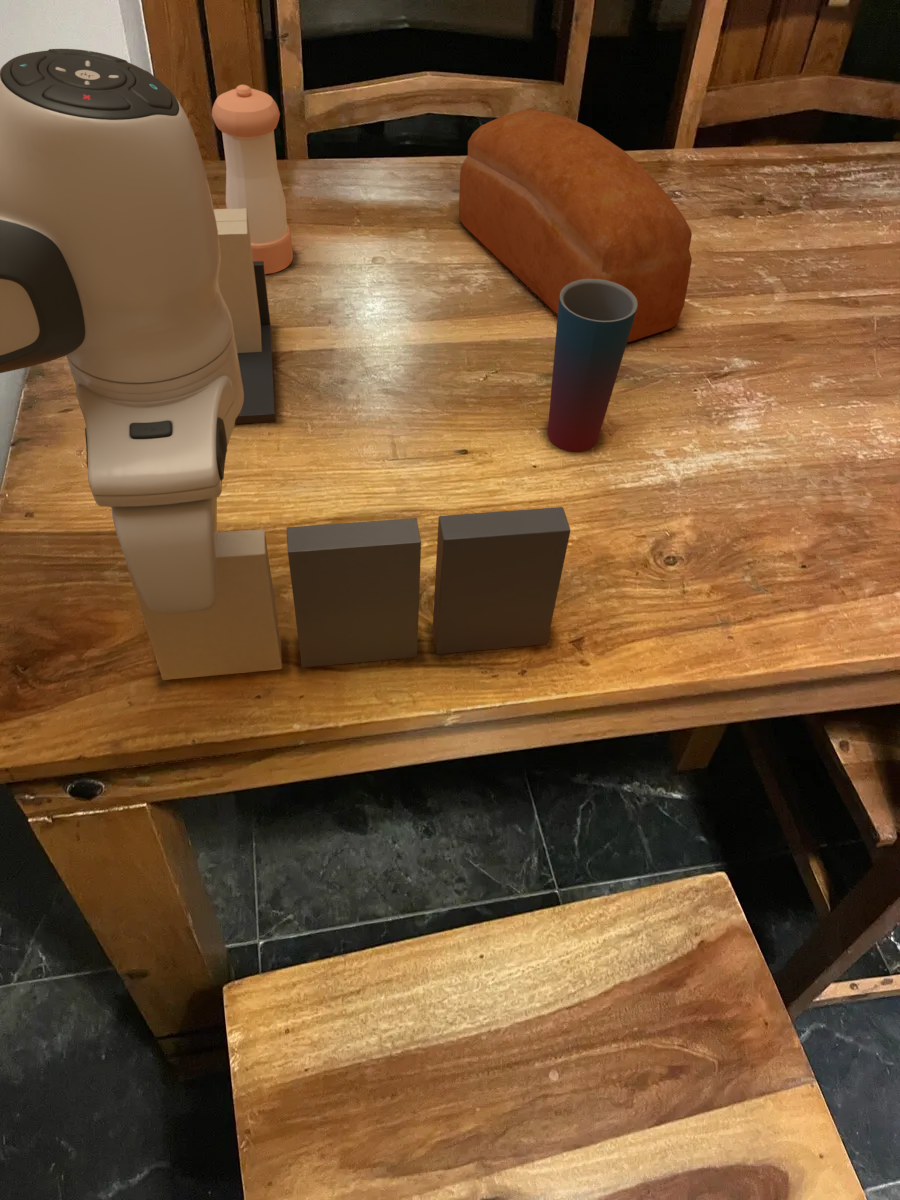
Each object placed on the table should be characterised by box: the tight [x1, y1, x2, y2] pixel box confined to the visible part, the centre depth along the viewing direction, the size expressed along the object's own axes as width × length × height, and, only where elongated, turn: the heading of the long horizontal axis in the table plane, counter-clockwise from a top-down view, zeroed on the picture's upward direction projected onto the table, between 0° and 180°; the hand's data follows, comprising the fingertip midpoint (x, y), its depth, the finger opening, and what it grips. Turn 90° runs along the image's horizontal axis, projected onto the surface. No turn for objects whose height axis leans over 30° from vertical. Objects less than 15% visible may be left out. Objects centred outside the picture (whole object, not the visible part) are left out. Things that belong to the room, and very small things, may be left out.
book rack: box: [214, 208, 277, 425], centre depth 90 cm, size 11×16×14 cm
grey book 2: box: [431, 506, 571, 655], centre depth 70 cm, size 9×2×13 cm, turn 99°
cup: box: [547, 279, 638, 453], centre depth 86 cm, size 7×7×15 cm
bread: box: [458, 108, 693, 343], centre depth 107 cm, size 14×33×16 cm, turn 28°
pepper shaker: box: [211, 84, 294, 275], centre depth 103 cm, size 7×7×19 cm
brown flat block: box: [125, 528, 283, 681], centre depth 67 cm, size 9×2×13 cm, turn 99°
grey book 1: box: [286, 517, 422, 668], centre depth 69 cm, size 9×2×13 cm, turn 99°
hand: (201, 549), depth 63 cm, fingers open, 8 cm apart
